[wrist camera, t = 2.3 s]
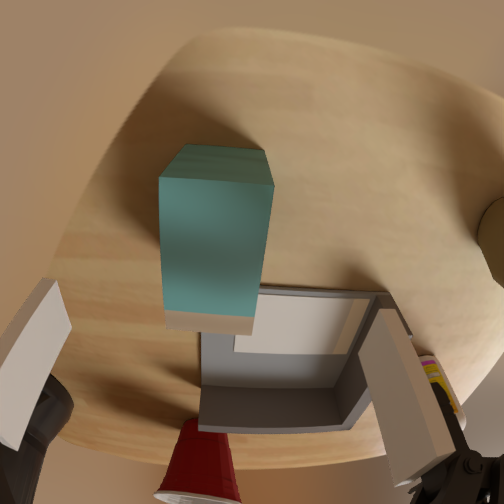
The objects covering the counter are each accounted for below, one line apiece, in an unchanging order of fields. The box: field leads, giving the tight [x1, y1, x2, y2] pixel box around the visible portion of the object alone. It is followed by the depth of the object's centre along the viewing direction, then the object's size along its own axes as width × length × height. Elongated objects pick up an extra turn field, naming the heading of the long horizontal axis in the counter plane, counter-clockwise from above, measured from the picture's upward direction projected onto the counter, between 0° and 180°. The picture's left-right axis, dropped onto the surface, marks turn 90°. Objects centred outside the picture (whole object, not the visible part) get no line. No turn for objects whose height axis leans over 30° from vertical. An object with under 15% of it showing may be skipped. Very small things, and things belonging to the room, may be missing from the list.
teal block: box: [159, 144, 275, 336], centre depth 18 cm, size 9×5×7 cm, turn 174°
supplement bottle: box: [418, 355, 466, 431], centre depth 27 cm, size 7×7×13 cm
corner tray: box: [198, 286, 413, 434], centre depth 27 cm, size 16×15×5 cm
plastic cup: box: [153, 418, 242, 504], centre depth 32 cm, size 11×11×12 cm
